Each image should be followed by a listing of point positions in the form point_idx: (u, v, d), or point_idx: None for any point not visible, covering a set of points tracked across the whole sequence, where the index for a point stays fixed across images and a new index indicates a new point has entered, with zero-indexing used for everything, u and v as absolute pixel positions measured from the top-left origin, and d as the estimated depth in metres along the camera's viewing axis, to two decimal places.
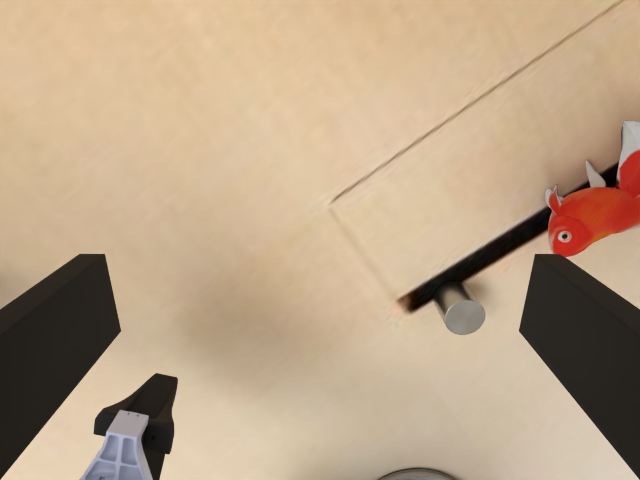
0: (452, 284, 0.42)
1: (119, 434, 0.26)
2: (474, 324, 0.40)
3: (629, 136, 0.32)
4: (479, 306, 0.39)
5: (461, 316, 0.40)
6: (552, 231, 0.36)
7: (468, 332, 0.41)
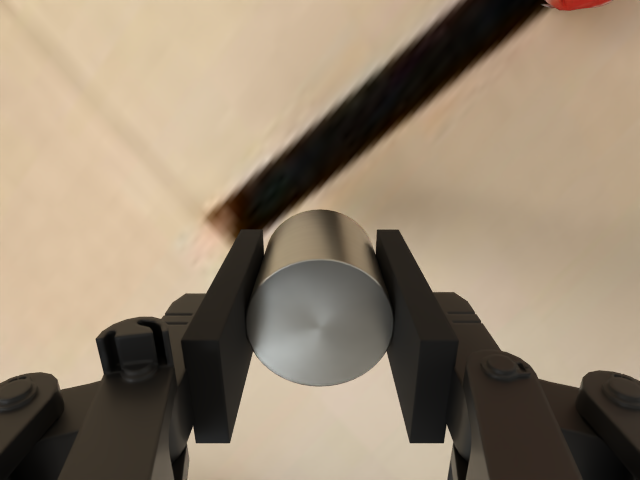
0: (303, 219, 0.13)
1: None
2: (359, 351, 0.11)
3: None
4: (367, 281, 0.10)
5: (304, 321, 0.11)
6: None
7: (342, 377, 0.11)
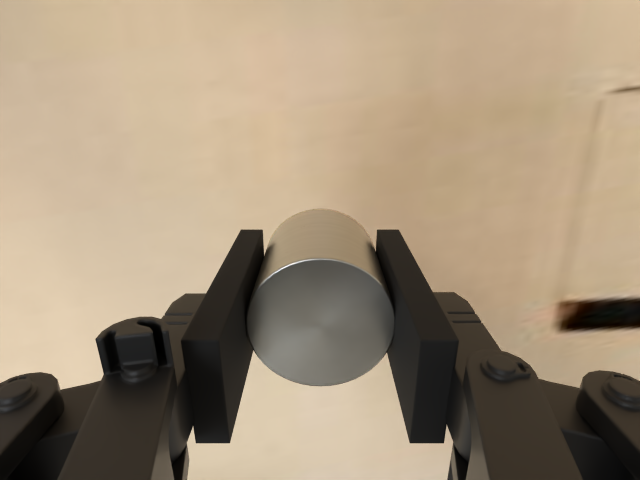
0: (305, 218, 0.13)
1: None
2: (360, 350, 0.11)
3: None
4: (368, 281, 0.10)
5: (305, 320, 0.11)
6: None
7: (343, 377, 0.11)
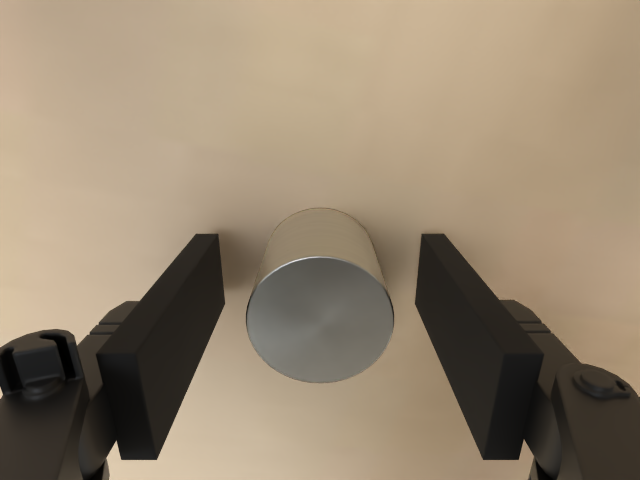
0: (304, 217, 0.13)
1: None
2: (359, 347, 0.11)
3: None
4: (366, 278, 0.10)
5: (305, 317, 0.11)
6: None
7: (342, 374, 0.11)
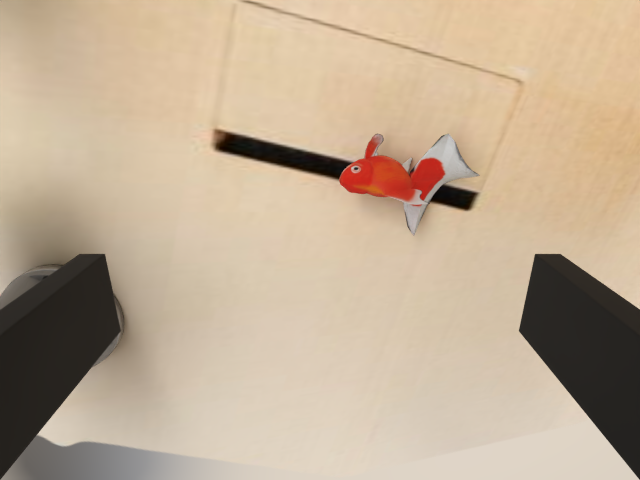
0: None
1: None
2: None
3: (442, 145, 0.41)
4: None
5: None
6: (352, 163, 0.42)
7: None
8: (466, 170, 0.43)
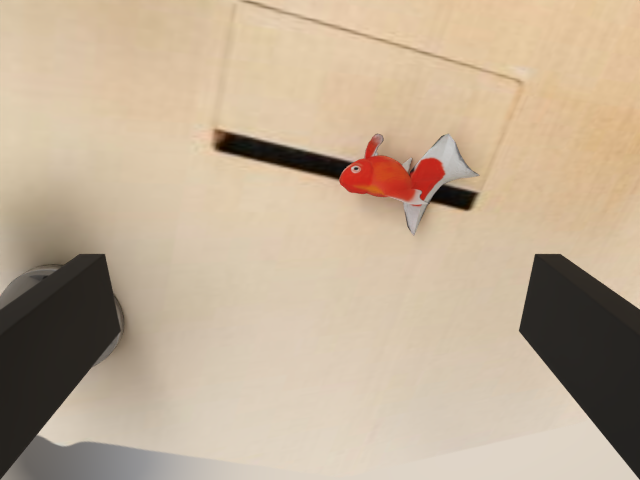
0: None
1: None
2: None
3: (442, 145, 0.41)
4: None
5: None
6: (352, 163, 0.42)
7: None
8: (466, 170, 0.43)
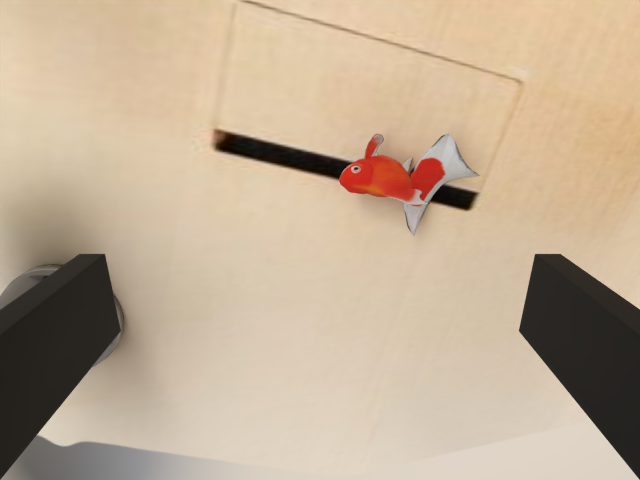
0: None
1: None
2: None
3: (442, 145, 0.41)
4: None
5: None
6: (352, 163, 0.42)
7: None
8: (466, 170, 0.43)
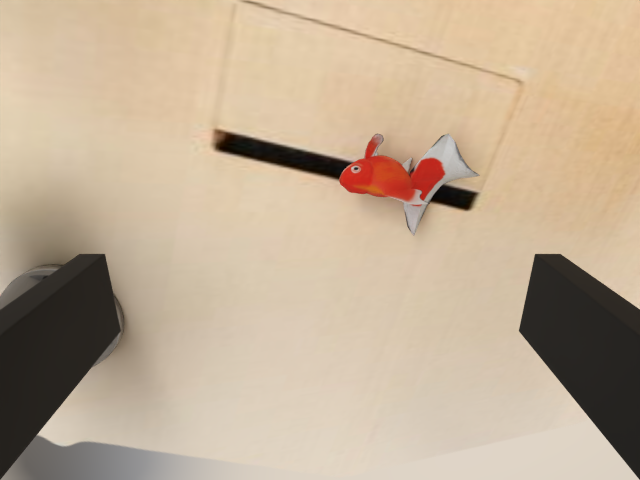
0: None
1: None
2: None
3: (442, 145, 0.41)
4: None
5: None
6: (352, 163, 0.42)
7: None
8: (466, 170, 0.43)
